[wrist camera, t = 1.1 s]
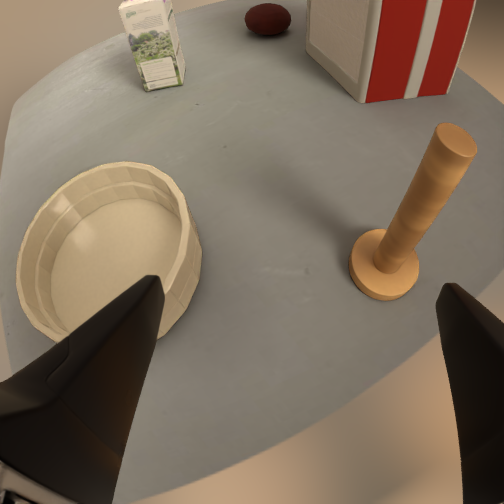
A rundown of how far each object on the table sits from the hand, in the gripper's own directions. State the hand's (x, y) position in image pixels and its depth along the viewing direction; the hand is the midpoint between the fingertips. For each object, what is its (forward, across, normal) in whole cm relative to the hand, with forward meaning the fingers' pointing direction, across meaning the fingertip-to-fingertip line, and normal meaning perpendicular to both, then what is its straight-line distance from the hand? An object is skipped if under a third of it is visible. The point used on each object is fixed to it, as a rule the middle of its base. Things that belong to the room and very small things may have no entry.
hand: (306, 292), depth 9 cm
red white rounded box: (+43, -14, -5) cm, 46 cm away
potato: (+54, +3, -11) cm, 55 cm away
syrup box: (+40, +18, -4) cm, 44 cm away
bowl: (+13, +15, +10) cm, 22 cm away
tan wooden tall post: (+14, -8, +10) cm, 18 cm away
